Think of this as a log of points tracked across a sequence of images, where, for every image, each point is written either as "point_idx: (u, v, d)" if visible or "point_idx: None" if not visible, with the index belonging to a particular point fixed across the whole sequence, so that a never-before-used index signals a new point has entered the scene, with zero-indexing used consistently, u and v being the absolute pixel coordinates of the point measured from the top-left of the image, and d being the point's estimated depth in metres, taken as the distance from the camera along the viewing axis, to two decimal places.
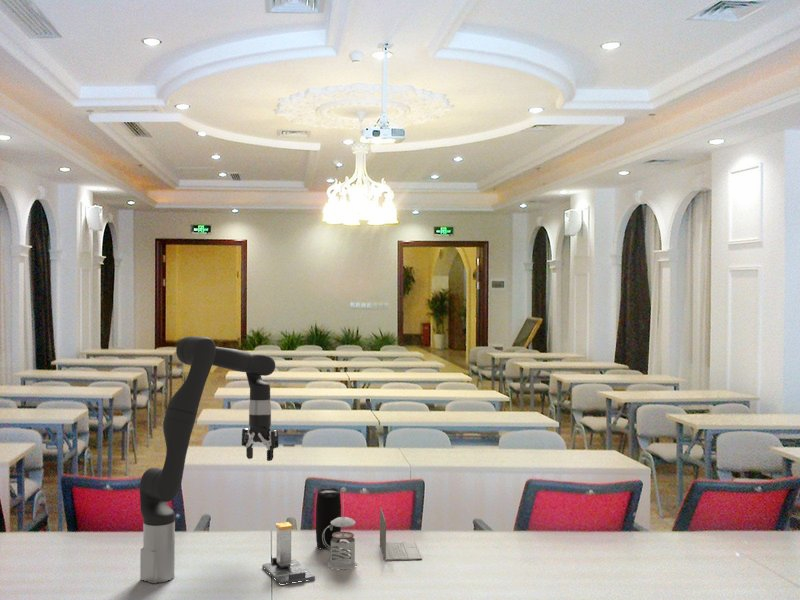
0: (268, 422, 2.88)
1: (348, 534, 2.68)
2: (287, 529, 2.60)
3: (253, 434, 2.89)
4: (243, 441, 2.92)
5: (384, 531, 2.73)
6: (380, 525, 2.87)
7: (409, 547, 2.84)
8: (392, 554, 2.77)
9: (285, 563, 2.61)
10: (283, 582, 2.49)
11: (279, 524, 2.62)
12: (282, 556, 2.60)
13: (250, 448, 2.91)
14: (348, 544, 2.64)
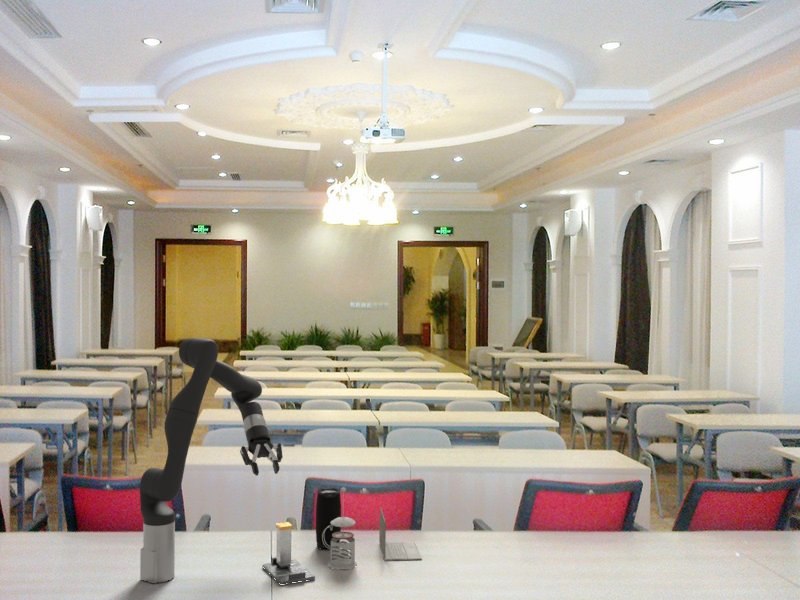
0: None
1: (348, 534, 2.68)
2: (287, 529, 2.60)
3: (258, 446, 2.75)
4: (247, 457, 2.71)
5: (384, 531, 2.73)
6: (380, 525, 2.87)
7: (409, 547, 2.84)
8: (392, 554, 2.77)
9: (285, 563, 2.61)
10: (283, 582, 2.49)
11: (279, 524, 2.62)
12: (282, 556, 2.60)
13: None
14: (348, 544, 2.64)
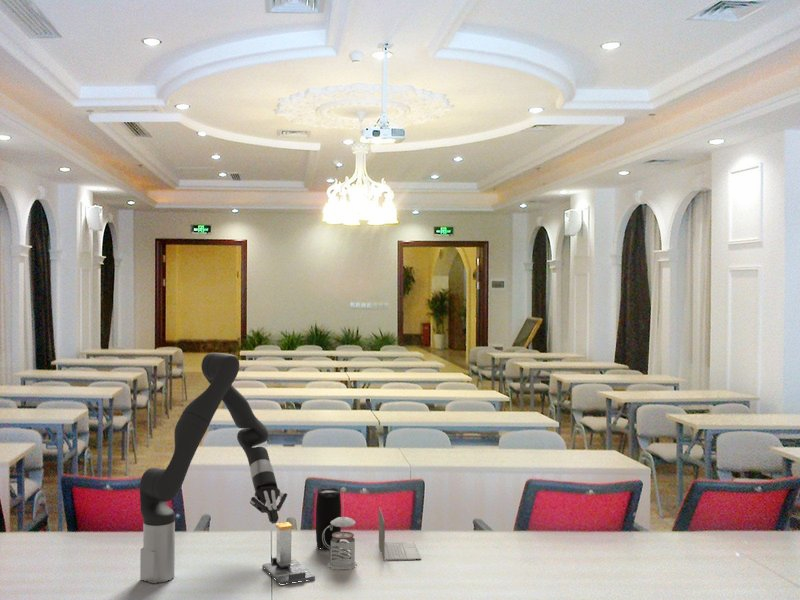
0: None
1: (348, 534, 2.68)
2: (287, 529, 2.60)
3: (265, 492, 2.74)
4: (262, 505, 2.72)
5: (383, 531, 2.73)
6: (379, 525, 2.87)
7: (408, 547, 2.84)
8: (391, 554, 2.77)
9: (285, 563, 2.61)
10: (283, 582, 2.49)
11: (279, 524, 2.62)
12: (282, 556, 2.60)
13: None
14: (348, 544, 2.64)
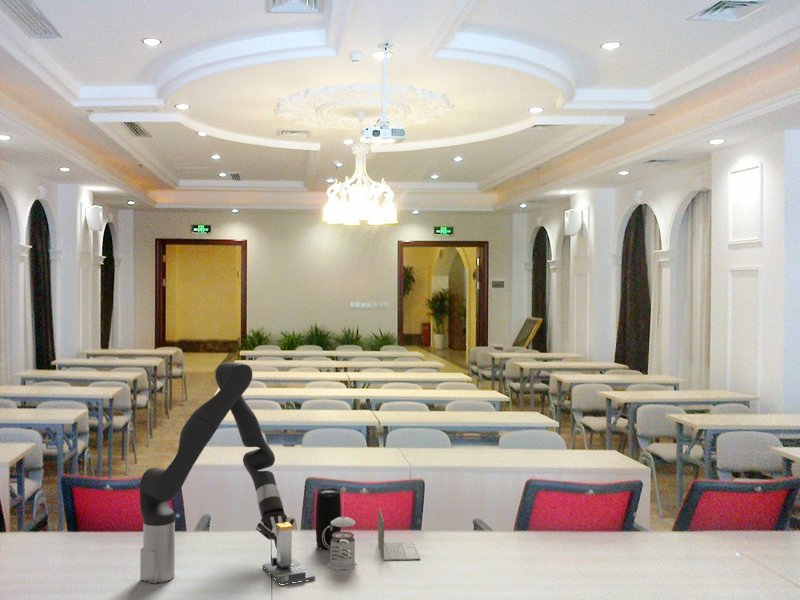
0: None
1: (348, 534, 2.68)
2: (287, 529, 2.60)
3: (272, 518, 2.68)
4: (269, 532, 2.65)
5: (382, 531, 2.73)
6: None
7: (407, 547, 2.84)
8: (390, 554, 2.77)
9: (285, 563, 2.60)
10: (283, 582, 2.49)
11: (279, 524, 2.62)
12: (283, 557, 2.60)
13: None
14: (348, 544, 2.64)
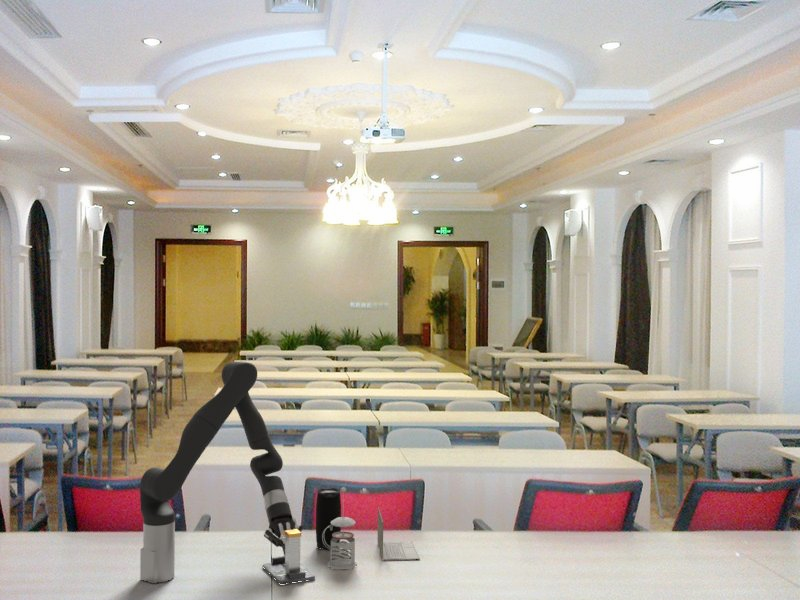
0: None
1: (348, 534, 2.68)
2: (296, 536, 2.53)
3: (280, 525, 2.61)
4: (277, 538, 2.58)
5: (381, 531, 2.73)
6: (378, 525, 2.87)
7: (407, 547, 2.84)
8: (389, 554, 2.77)
9: (294, 571, 2.53)
10: (283, 582, 2.49)
11: (288, 531, 2.55)
12: (291, 565, 2.53)
13: None
14: (348, 544, 2.64)
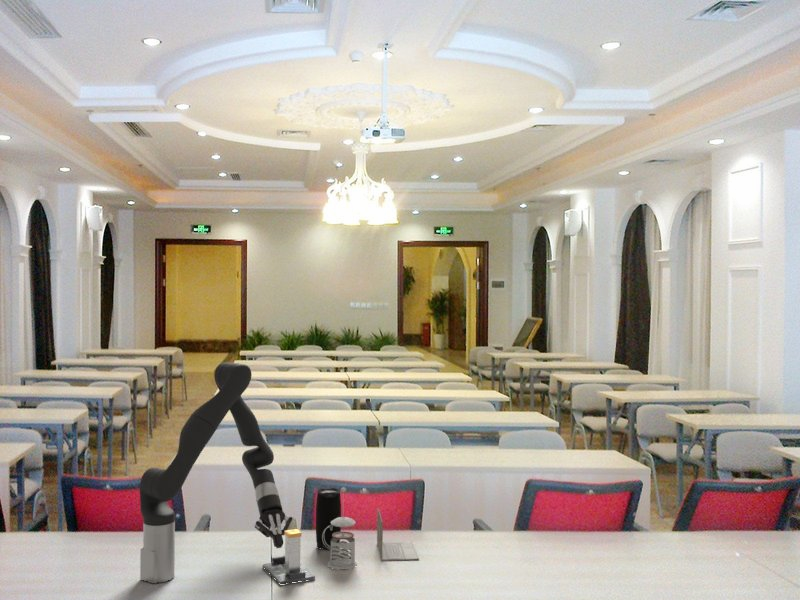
0: None
1: (348, 534, 2.68)
2: (296, 536, 2.53)
3: (270, 516, 2.70)
4: (267, 529, 2.67)
5: (381, 531, 2.73)
6: (377, 525, 2.87)
7: (406, 547, 2.84)
8: (389, 554, 2.76)
9: (294, 571, 2.53)
10: (283, 582, 2.49)
11: (288, 531, 2.55)
12: (291, 565, 2.53)
13: None
14: (348, 544, 2.64)
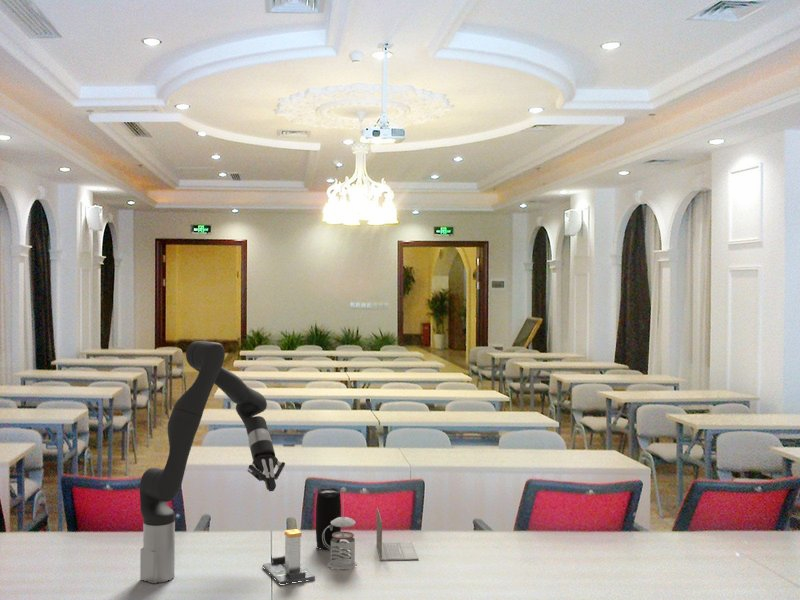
0: None
1: (348, 534, 2.68)
2: (296, 536, 2.53)
3: (263, 460, 2.74)
4: (260, 473, 2.71)
5: (380, 531, 2.73)
6: (377, 525, 2.87)
7: (406, 547, 2.84)
8: (388, 554, 2.76)
9: (294, 571, 2.53)
10: (283, 582, 2.49)
11: (288, 531, 2.55)
12: (291, 565, 2.53)
13: None
14: (348, 544, 2.64)
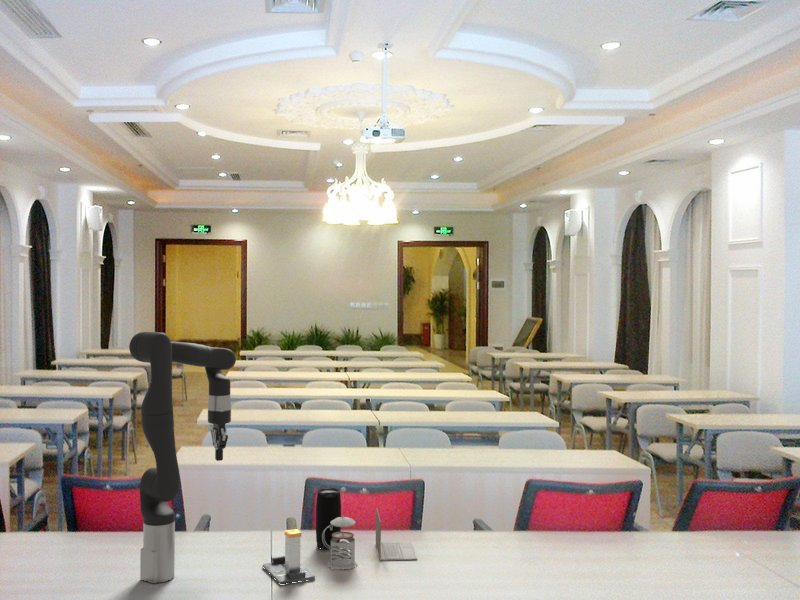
0: (222, 419, 2.73)
1: (348, 534, 2.68)
2: (296, 536, 2.53)
3: (212, 430, 2.77)
4: (213, 441, 2.79)
5: (379, 531, 2.73)
6: (376, 525, 2.87)
7: (405, 547, 2.84)
8: (387, 554, 2.76)
9: (294, 571, 2.53)
10: (283, 582, 2.49)
11: (288, 531, 2.55)
12: (291, 565, 2.53)
13: None
14: (348, 544, 2.64)
